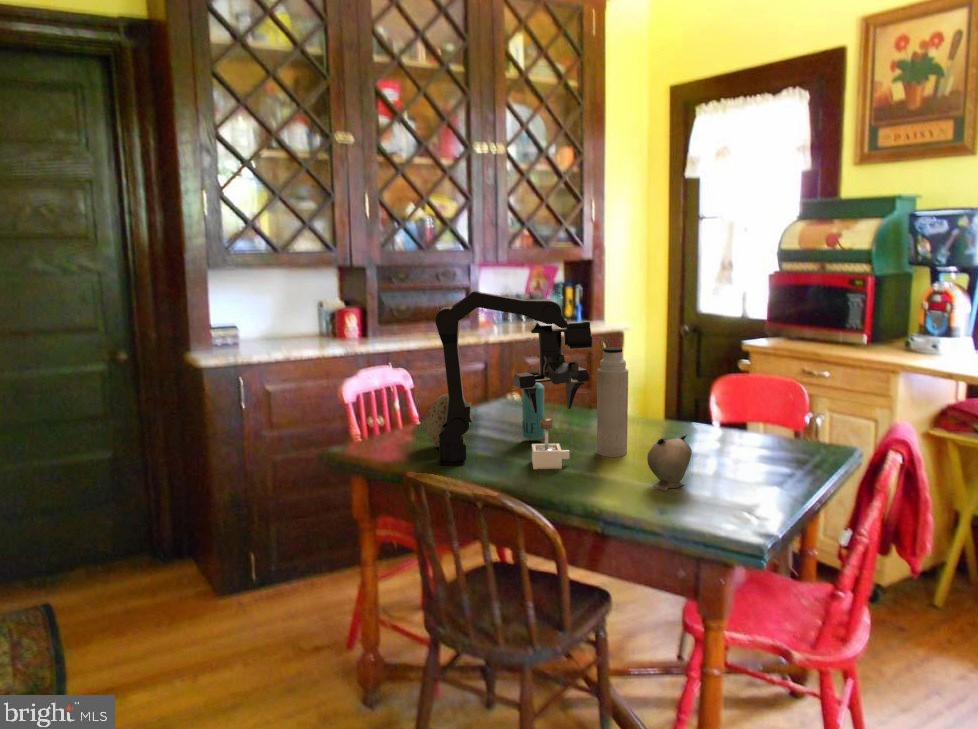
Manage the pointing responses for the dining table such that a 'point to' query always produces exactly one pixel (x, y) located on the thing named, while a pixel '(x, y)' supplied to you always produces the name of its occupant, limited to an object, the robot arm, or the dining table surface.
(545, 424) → the brown stemmed glass
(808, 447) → the dining table surface
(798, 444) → the dining table surface
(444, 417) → the decorative egg
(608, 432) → the thermos bottle
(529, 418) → the beverage bottle
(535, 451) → the square box with handle
